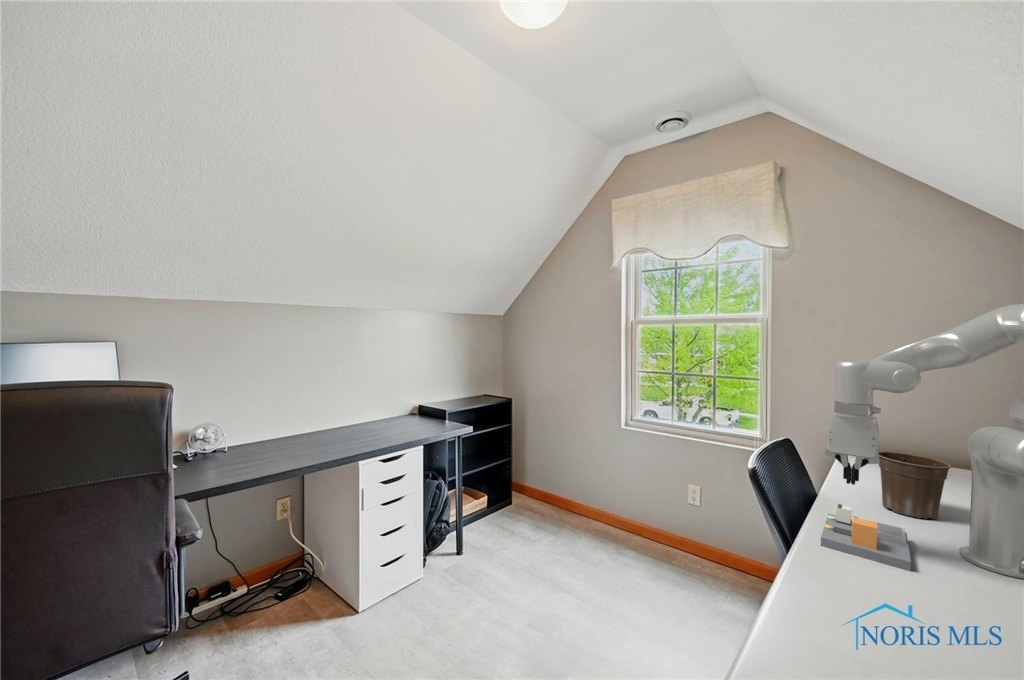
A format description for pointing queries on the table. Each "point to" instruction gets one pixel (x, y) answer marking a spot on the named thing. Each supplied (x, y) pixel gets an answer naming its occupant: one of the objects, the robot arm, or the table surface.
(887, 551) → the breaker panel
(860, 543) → the cap
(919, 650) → the table surface
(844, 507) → the toggle
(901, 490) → the plant pot
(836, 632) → the table surface
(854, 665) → the table surface
